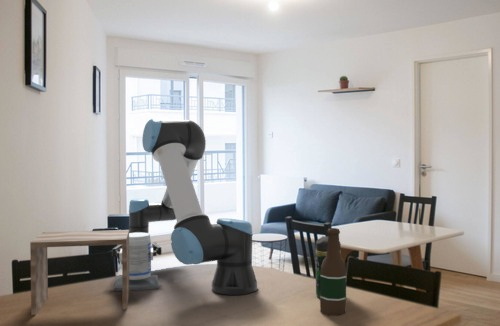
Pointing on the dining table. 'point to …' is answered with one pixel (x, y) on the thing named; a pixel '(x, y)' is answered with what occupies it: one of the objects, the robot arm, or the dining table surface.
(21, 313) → the dining table surface
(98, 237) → the shelf
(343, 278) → the beer bottle
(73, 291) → the dining table surface
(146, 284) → the mat
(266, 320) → the dining table surface
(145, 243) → the supplement tub
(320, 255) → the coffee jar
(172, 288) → the dining table surface
